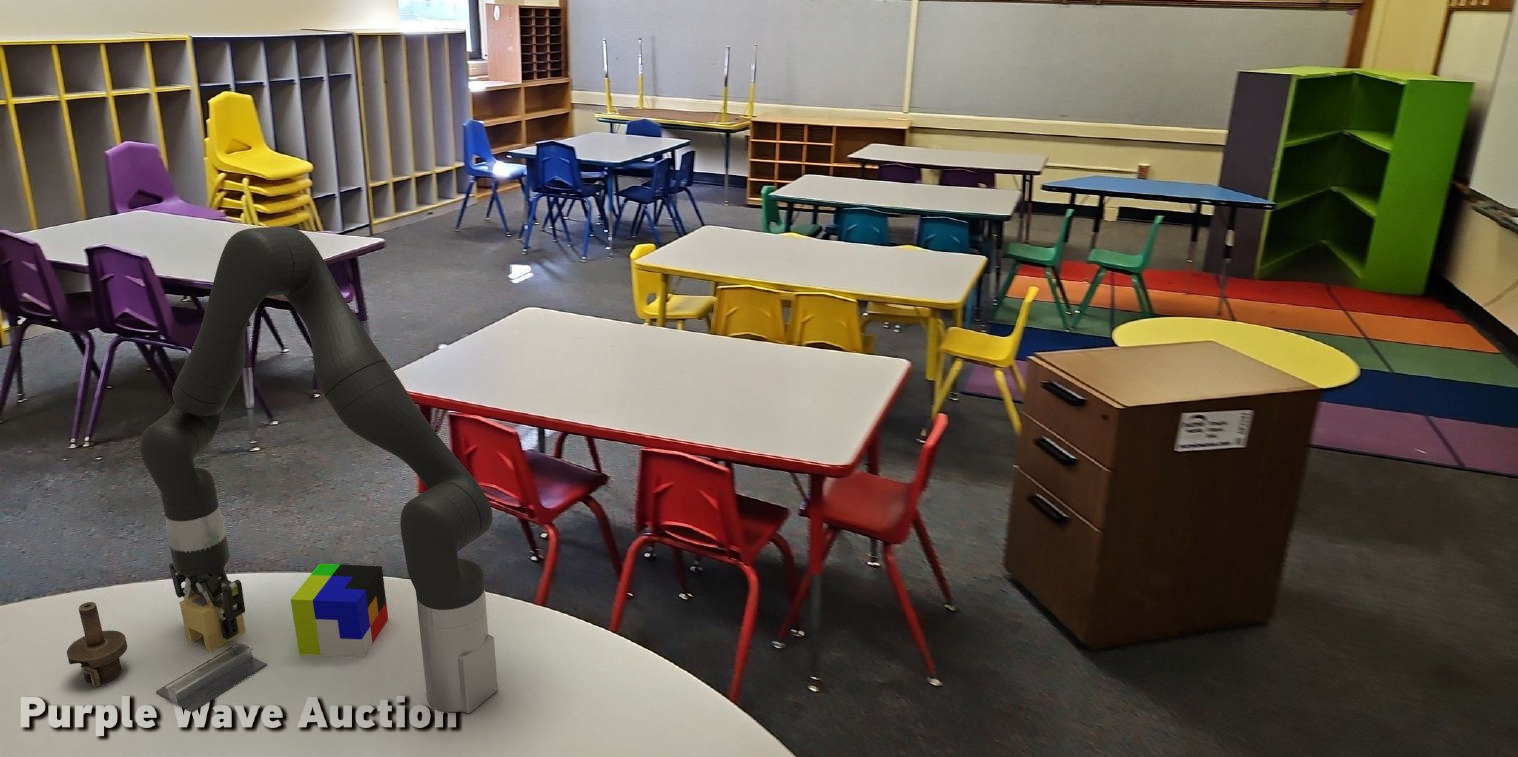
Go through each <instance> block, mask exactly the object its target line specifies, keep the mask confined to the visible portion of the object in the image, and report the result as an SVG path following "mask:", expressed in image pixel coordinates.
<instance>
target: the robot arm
mask: <svg viewBox="0 0 1518 757" xmlns="http://www.w3.org/2000/svg"><path fill="white" fill-rule="evenodd" d="M274 296H283V297H285V298H286V300H288V302H289V303H290V304H291V305H292V307H293V308H294V310H295V311H296V313H297V314H298V316H299V317H300V319H301V320H302V322H303V324H304V326H305V327H306V329H307V331H308V332H307V333H308V335H309V338H310V344H311V350H312V351H311V352H312V359H313V360H312V361H313V370H314V374H315V378H316V382H317V384H318V387H319V389H320V390H321V392H322V394H323V396H324V398H325V399H326V400H327V401H328V403H329V405H330V406H331V408H332V409H333V410H334V411H335V414H336V415H337V416H338V418H339V419H340V420H341V422H342V423H343V424H344V425H345V426H346V427H347V428H348V429H349V430H351V432H353V434H355V435H357V436H359V437H360V438H362V439H363V440H365V441H367V442H370V444H373V445H374V446H377V447H379V448H381V449H382V450H385V451H386V452H388V453H389V454H392V455H394V456H395V457H397V458H399V460H401V461H403V462H404V463H405V464H406V465H407V466H409V468H411V469H412V470H413V472H414V473H415V474H416V475H417V477H418V478H419V479H420V480H421V482H422V483H423V484H424V485H425V487H426V489H427V490H425V491H424V492H421V493H419V495H417V496H415V497H413V498H412V499H409V501H407V502H406V503H405V504H404V506H403V508H402V509H401V514H400V519H399V520H400V526H399V527H400V534H401V539H402V540H401V541H402V545H403V546H402V547H403V551H404V558H405V563H406V564H405V565H406V569H407V574H408V577H409V579H410V581H411V583H412V585H413V588H414V591H415V597H416V604H417V606H416V607H417V615H418V616H417V617H418V625H419V627H418V628H419V633H420V634H419V635H420V645H421V653H422V654H421V655H422V663H423V665H422V666H423V671H424V672H423V673H424V682H425V691H426V698H427V699H426V700H427V701H428V703H429V705H430V706H432V708H434V709H436V710H439V711H441V712H446V713H447V712H448V713H456V712H457V713H458V712H461V713H462V712H463V713H466V714H470V713H472V712H473V711H474V710H476V709H477V708H478V707H479V706H480V705H482V704H483V703H484V702H485V701H487V699H489V698H490V697H491V696H493V695H494V694H496V692H498V690H499V687H498V685H499V684H498V674H497V673H498V672H497V660H496V648H495V646H496V645H495V637H494V636H493V635H491V634H489V627H488V626H489V624H488V614H487V612H488V611H487V601H486V600H487V598H486V586H485V584H486V583H485V574H484V571H483V568H482V567H481V566H480V565H479V564H477V563H476V562H474V561H472V560H469V559H466V558H460V557H459V556H458V555H459V553H458V552H459V551H460V550H462V549H463V548H465V547H466V546H467V545H469V544H471V543H472V542H474V541H475V540H477V539H478V538H480V537H482V535H484V534H485V533H486V532H488V530H489V529H490V528H491V526H492V523H493V509H492V506H491V503H490V500H489V498H488V497H487V495H486V493H485V491H484V490H483V488H482V487H481V485H480V484H479V483H478V481H477V480H476V479H475V478H474V477H473V476H472V474H471V473H470V472H469V470H467V468H466V467H465V466H464V465H463V464H462V462H461V461H460V460H459V459H458V457H456V455H455V454H454V453H453V452H452V451H451V449H450V448H449V447H448V446H447V445H446V443H445V442H444V441H443V440H442V438H441V437H440V436H439V434H438V433H437V432H436V431H435V429H434V428H433V427H432V425H431V424H430V423H429V421H428V420H427V418H426V417H425V416H424V414H423V413H422V411H421V410H420V409H419V407H418V405H417V404H416V403H415V401H414V400H413V398H412V397H411V396H410V394H409V392H408V391H407V390H406V388H405V387H404V385H403V382H402V381H401V380H400V378H399V377H398V375H397V373H395V371H394V369H393V368H392V367H391V365H390V364H389V361H387V359H386V358H385V356H384V355H383V354H382V353H381V351H380V350H379V349H378V347H377V345H375V343H374V342H373V340H372V339H371V337H370V336H369V334H368V333H367V331H366V329H365V328H364V327H363V326H364V325H362V323H361V322H360V320H359V319H358V317H357V315H356V314H355V313H354V311H353V309H352V308H351V307H350V305H349V303H348V302H347V300H346V298H345V296H344V295H343V293H342V291H341V289H340V287H339V286H338V284H337V282H336V281H335V278H334V277H333V275H332V273H331V270H330V269H329V267H328V265H327V263H326V261H325V260H324V258H323V256H322V254H321V252H320V251H319V250H318V247H317V246H316V245H315V243H314V242H313V241H312V240H311V238H310V237H309V236H308V235H307V234H305V233H304V232H303V231H301V230H299V229H296V228H294V227H290V226H283V225H282V226H266V227H263V226H262V227H251V228H245V229H242V230H239V231H237V232H235V233H234V234H233V235H232V236H230V238H229V239H228V240H227V242H226V243H225V246H224V248H223V249H222V252H221V255H220V259H219V261H218V264H217V268H216V272H215V274H214V279H213V282H212V286H211V290H210V293H209V297H208V300H207V303H206V307H205V310H204V314H203V318H202V322H201V325H200V328H199V332H198V333H197V337H196V339H195V341H194V343H193V346H192V348H191V350H190V352H189V354H188V356H187V358H186V360H185V362H184V364H183V365H182V368H181V370H180V372H179V373H178V375H177V378H176V380H175V382H174V385H173V387H172V390H171V392H172V393H171V396H172V397H171V398H172V400H173V402H174V403H173V405H172V406H171V408H170V409H169V410H168V412H167V413H166V414H164V415H163V416H162V417H160V418H159V419H157V420H156V421H154V422H153V423H152V424H151V425H149V426H147V428H146V429H145V430H144V431H143V433H142V434H141V439H140V444H139V445H140V446H139V449H140V456H141V459H142V462H143V463H144V465H145V468H147V471H148V472H149V474H150V476H151V478H152V480H153V482H154V483H155V485H156V487H157V488H158V490H159V491H160V498H161V501H162V506H163V509H164V510H163V511H164V516H165V529H166V536H167V541H168V545H169V551H170V554H171V559H172V563H170V564H168V567H169V571H170V576H171V578H172V583H173V587H174V592H175V595H176V597H178V598H179V599H180V598H183V600H185V599H187V598H189V597H191V596H193V595H195V594H197V595H200V596H203V597H205V599H206V601H207V603H208V605H209V607H210V608H214V609H215V610H216V612H217V614H218V616H219V618H220V619H219V620H220V625H221V631H222V636H223V638H225V639H227V640H228V639H230V638H232V637H233V636H235V635H237V634H238V625H237V619H236V617H237V616H239V615H241V614H245V612H246V606H245V600H244V599H245V598H244V592H243V584H242V582H241V581H240V579H236V580H234V581H231V580H229V578H228V576H227V573H226V571H225V566H226V564H227V563H228V562H229V560H230V557H231V556H230V555H231V554H230V550H229V549H230V548H229V544H228V537H227V533H226V527H225V523H224V518H223V516H224V515H223V514H222V511H221V509H220V505H219V501H218V494H217V490H216V484H215V480H214V478H213V476H212V474H211V472H209V471H208V470H207V469H205V468H201V467H196V466H195V463H194V457H195V456H196V455H198V454H199V453H200V452H202V451H203V450H204V449H205V448H206V447H207V446H208V445H209V444H210V442H211V441H212V440H213V439H214V436H215V435H216V433H217V432H218V429H219V426H220V424H221V421H222V416H223V414H224V413H223V412H224V408H225V405H226V404H227V402H228V400H229V399H230V397H231V395H232V393H233V392H234V389H235V387H236V385H237V384H238V381H239V380H240V377H241V375H242V373H243V370H244V367H245V363H246V343H245V342H246V340H245V334H246V329H247V325H248V322H249V320H250V318H251V317H252V316H253V314H254V312H255V311H256V309H257V308H258V306H259V305H260V304H262V303H261V302H263V301H264V299H265V298H267V297H274ZM182 583H185V585H184V586H182ZM220 594H221V595H222V596H223V597H222V598H220V599H219V600H217V601H216V600H214V598H215V597H217V596H218V595H220ZM222 603H224V608H225V611H224V610H223V609H222V607H221V604H222ZM236 604H237V607H236Z"/></svg>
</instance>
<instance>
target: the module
mask: <svg viewBox="0 0 1518 757" xmlns="http://www.w3.org/2000/svg"><path fill="white" fill-rule="evenodd" d="M222 597H223V596H222V595H221V594H220V595H218V596H217V597H215V598H214V600H216V601H217V600H219V599H220V598H222ZM179 607H180V611H181V616H182V621H183V625H184V630H185V631H184V632H185V634H186V641H187V642H190V643H194V642H196V641H198V640H200V639H201V638H203V641H204V645H205V650H206V651H208V652H213V651H215V650H216V649H218V648H219V647H222V646H223V645H225V644H227V643H228V642H231V641H232V640H234V639H235V638H237V637H239V636H241V635H242V634H244V633H245V632H246V626H245V619H244V615H243V614H244V613H243V614H241V615H239V616H237V617H236V619H237V625H238V634H237V635H235V636H233V637H232V638H230V639H228V640H227V639H225V638H223V636H222V631H221V625H220V620H219V619H220V618H219V616H218V614H217V612H216V610H215V609H214V608H210V607H209V605H208V603H207V601H206V599H205V597H203V596H200V595H197V594H195V595H193V596H191V597H189V598H187V599H185V600H184V599H182V600H181V601H179ZM221 607H222V609H223V610H224V611H225V608H224V603H222V604H221ZM236 607H237V604H236ZM241 633H242V634H241ZM240 634H241V635H240ZM238 635H239V636H238Z"/></svg>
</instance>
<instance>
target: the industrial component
mask: <svg viewBox="0 0 1518 757" xmlns="http://www.w3.org/2000/svg"><path fill="white" fill-rule="evenodd" d="M78 612H79V615H80V616H79V617H80V620H81V625H82V629H83V633H84V636H82V637H80V638H78V639H77V640H74V641H73V642H72V643H71V644H70V645H69V647H68V648H67V650H66V655H67V660H68V664H69V665H75V664H80V665H81V666H80V668H81V673H83V680H84V681H85V683H87V684H86V685H89V683H91V684H92V687H93V688H96V687H99V686H102V685H103V684H105V683H108V682H110V681H112V680H114V679H116V678H117V677H118V676H119V675H120V674H121V672H122V671H123V670H122V669H123V668H122V665H121V660H120V659H121V657H122V656H123V655H124V654H125V653H126V651H127V650H128V643H127V640H126V635H125V634H124V632H121V631H118V630H114V629H113V630H103V628H102V624H101V619H100V614H99V611H98V607H97V603H96V602H94V601H88V602H84V603H82V604H80V605H79V607H78Z"/></svg>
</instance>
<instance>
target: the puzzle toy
mask: <svg viewBox="0 0 1518 757" xmlns="http://www.w3.org/2000/svg"><path fill="white" fill-rule="evenodd" d="M290 606H291V612H292V618H293V625H294V630H295V637H296V642H297V647H298V654H299V655H300V656H301V655H304V656H325V657H326V656H327V657H348V658H349V657H352V658H353V657H355V658H365V657H366V655H367V653H368V652H369V650H370V649H371V647H372V646H373V644H374V643H375V641H376V640H377V638H378V637H379V634H380V632H382V630H383V628H384V626H385V625H386V623H387V622H388V620H389V614H388V613H389V612H388V604H387V596H386V589H385V581H384V573H383V566H381V565H380V566H379V565H365V564H364V565H362V564H361V565H359V564H358V565H357V564H336V563H335V564H334V563H333V564H332V563H319V564H318V565H317V566H316V567H315V568H314V570H313V571H312V572H311V574H309V575H308V577H307V578H306V579H305V581H304V582H303V583H302V584H301V586H300V587H299V588H298V589H297V591H296V592H295V593H294V594H293V595H292V597H291V598H290Z"/></svg>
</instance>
